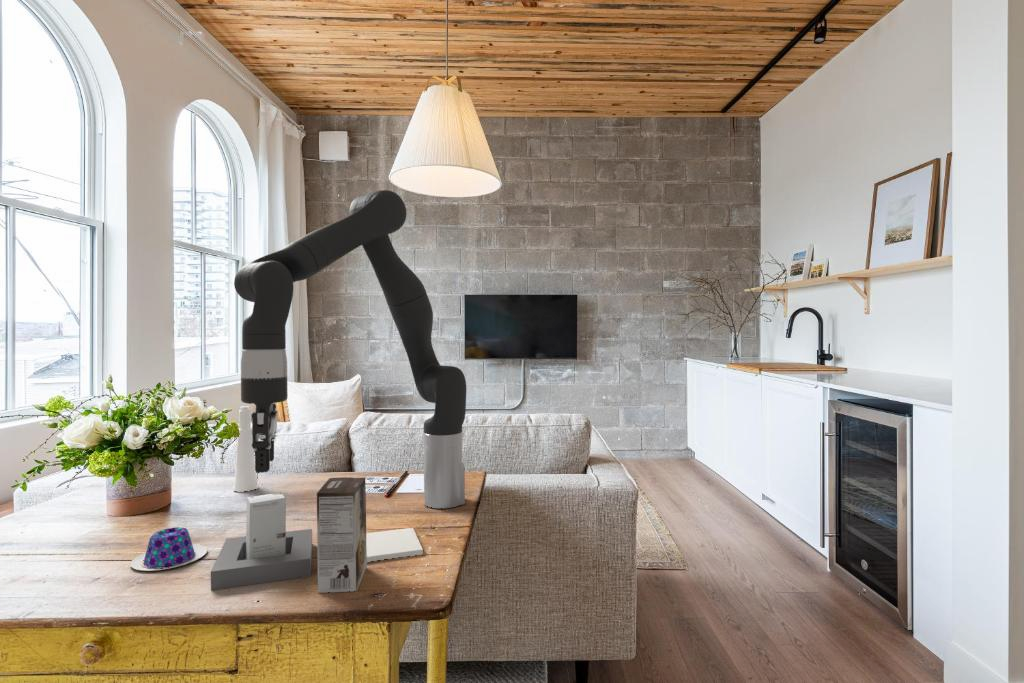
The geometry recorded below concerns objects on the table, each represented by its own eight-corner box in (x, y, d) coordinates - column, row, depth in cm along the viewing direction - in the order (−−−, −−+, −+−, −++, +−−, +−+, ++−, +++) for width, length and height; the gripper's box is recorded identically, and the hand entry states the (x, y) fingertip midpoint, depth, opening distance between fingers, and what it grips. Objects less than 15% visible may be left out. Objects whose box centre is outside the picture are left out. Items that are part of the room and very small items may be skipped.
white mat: (412, 532, 112) (412, 527, 112) (422, 554, 101) (422, 549, 101) (352, 540, 109) (352, 535, 109) (355, 563, 97) (355, 558, 97)
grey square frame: (312, 544, 107) (312, 528, 107) (310, 576, 92) (310, 558, 92) (226, 554, 102) (226, 538, 102) (210, 590, 88) (210, 571, 87)
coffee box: (330, 569, 95) (329, 477, 95) (367, 567, 96) (367, 476, 96) (315, 594, 86) (314, 492, 86) (357, 592, 87) (356, 491, 86)
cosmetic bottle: (262, 488, 146) (261, 405, 145) (241, 493, 141) (240, 408, 140) (249, 484, 149) (248, 404, 149) (228, 490, 144) (226, 407, 144)
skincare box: (249, 573, 93) (248, 503, 93) (245, 564, 97) (244, 497, 97) (287, 565, 97) (286, 497, 97) (282, 556, 101) (281, 491, 100)
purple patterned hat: (162, 546, 106) (162, 520, 106) (221, 548, 106) (220, 521, 105) (112, 573, 95) (112, 543, 94) (178, 575, 94) (178, 545, 93)
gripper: (284, 377, 91) (285, 474, 91) (289, 372, 105) (290, 456, 105) (234, 378, 89) (235, 478, 89) (246, 372, 102) (247, 459, 102)
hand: (265, 466), depth 97 cm, fingers open, 8 cm apart
